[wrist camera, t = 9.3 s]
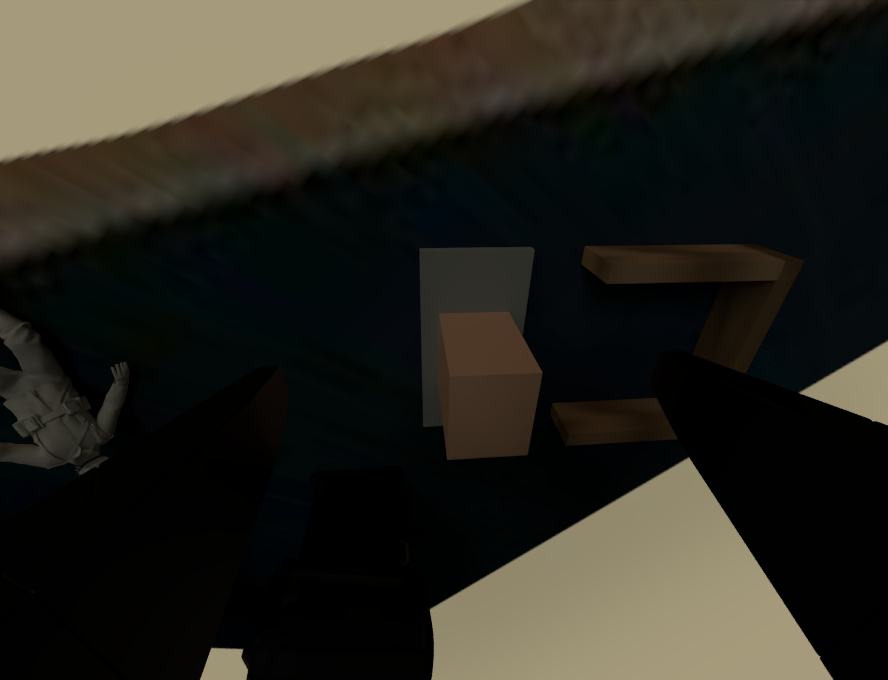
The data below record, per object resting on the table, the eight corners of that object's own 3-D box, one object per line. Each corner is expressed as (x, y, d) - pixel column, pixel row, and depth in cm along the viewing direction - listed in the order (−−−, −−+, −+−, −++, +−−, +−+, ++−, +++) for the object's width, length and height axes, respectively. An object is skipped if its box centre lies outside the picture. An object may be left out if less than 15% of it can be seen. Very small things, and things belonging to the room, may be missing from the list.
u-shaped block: (549, 414, 26) (565, 445, 23) (585, 246, 20) (611, 264, 17) (682, 407, 27) (711, 437, 24) (754, 243, 21) (804, 260, 18)
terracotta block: (438, 384, 23) (447, 459, 18) (438, 313, 20) (449, 376, 15) (500, 382, 23) (527, 455, 18) (508, 311, 21) (542, 373, 16)
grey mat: (423, 420, 25) (423, 426, 25) (419, 248, 19) (419, 251, 19) (508, 416, 26) (510, 422, 25) (531, 246, 20) (534, 250, 19)
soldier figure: (53, 253, 19) (184, 448, 21) (69, 277, 22) (178, 440, 25) (-212, 315, 14) (-5, 556, 16) (-136, 332, 18) (24, 526, 20)
